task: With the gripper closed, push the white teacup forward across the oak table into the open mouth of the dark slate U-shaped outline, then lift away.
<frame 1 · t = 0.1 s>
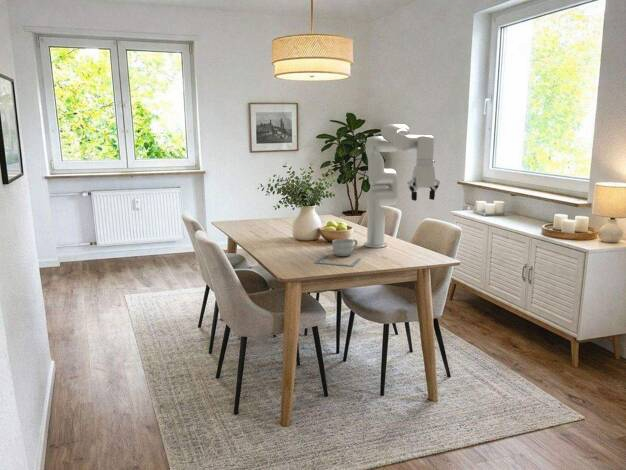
hand: (423, 199, 243), 31 cm above the table, tool pointing down, fingers open, 9 cm apart
teacup: (345, 255, 268), on the table
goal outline: (338, 260, 256), on the table
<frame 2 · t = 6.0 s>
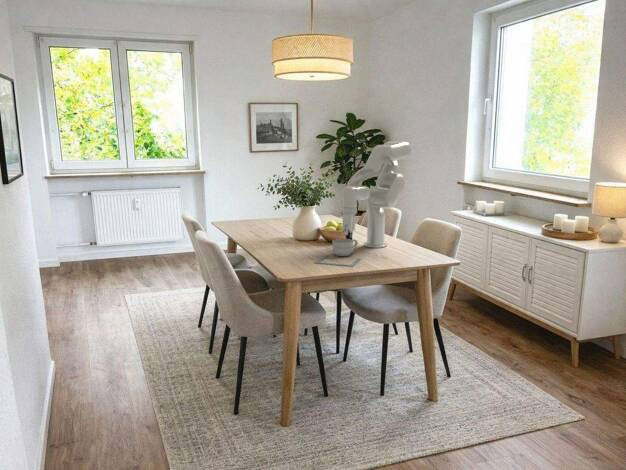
hand: (348, 244, 274), 4 cm above the table, tool pointing down, fingers closed
teacup: (345, 255, 268), on the table, touching gripper
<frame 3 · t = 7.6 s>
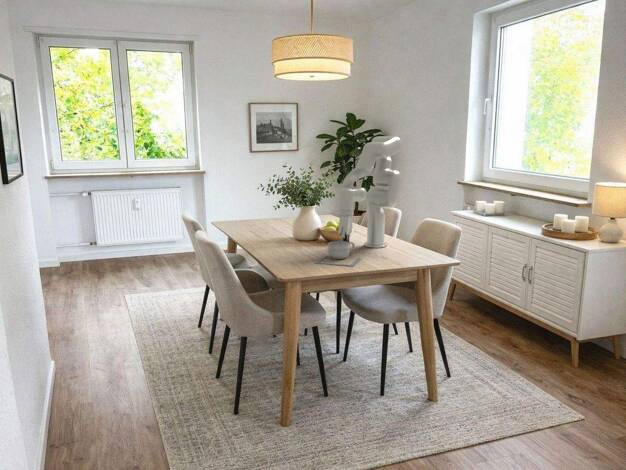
hand: (345, 247, 268), 4 cm above the table, tool pointing down, fingers closed
teacup: (341, 258, 262), on the table, touching gripper
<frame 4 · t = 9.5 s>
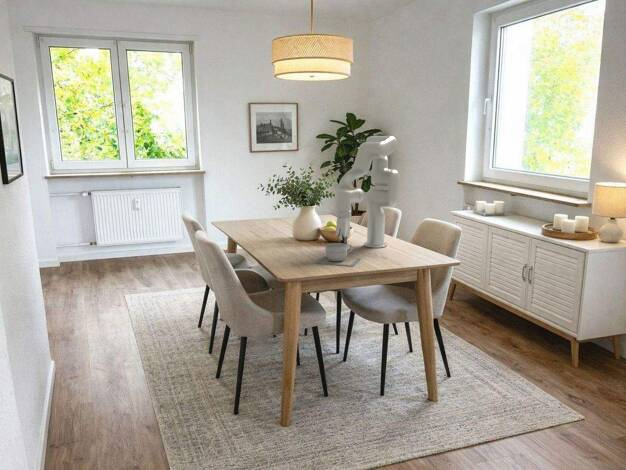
hand: (343, 249, 263), 4 cm above the table, tool pointing down, fingers closed
teacup: (339, 260, 257), on the table, touching gripper
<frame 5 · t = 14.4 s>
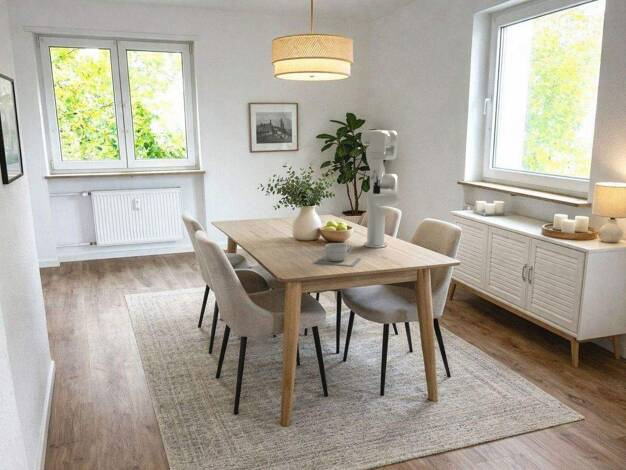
hand: (376, 193, 259), 32 cm above the table, tool pointing down, fingers closed
teacup: (339, 260, 257), on the table
at the end: teacup inside the target area (1.5 cm from its centre), on the table; teacup tilted 0° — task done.
